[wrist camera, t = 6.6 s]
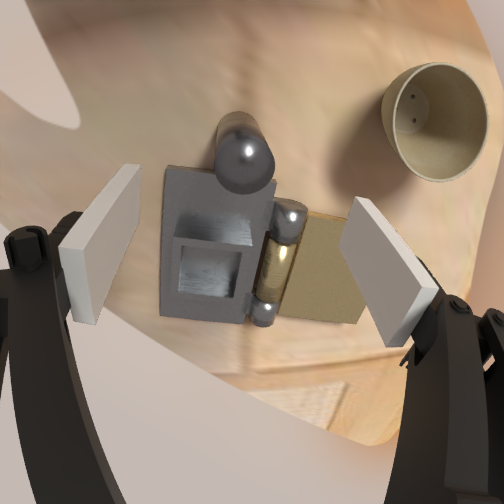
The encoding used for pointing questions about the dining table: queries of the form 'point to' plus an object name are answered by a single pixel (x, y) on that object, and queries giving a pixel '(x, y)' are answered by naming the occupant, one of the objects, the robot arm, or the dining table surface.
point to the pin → (242, 155)
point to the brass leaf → (312, 274)
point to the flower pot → (436, 120)
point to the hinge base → (219, 246)
